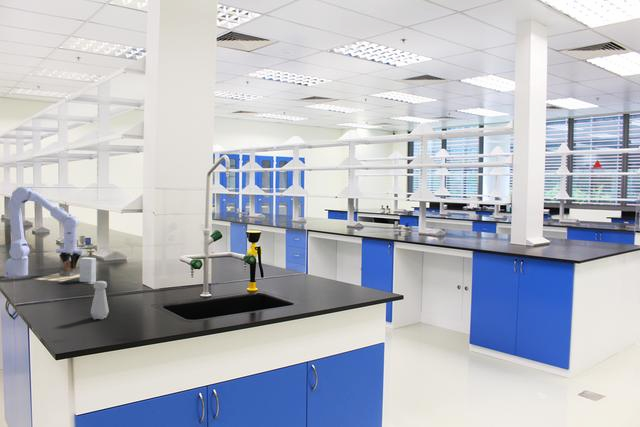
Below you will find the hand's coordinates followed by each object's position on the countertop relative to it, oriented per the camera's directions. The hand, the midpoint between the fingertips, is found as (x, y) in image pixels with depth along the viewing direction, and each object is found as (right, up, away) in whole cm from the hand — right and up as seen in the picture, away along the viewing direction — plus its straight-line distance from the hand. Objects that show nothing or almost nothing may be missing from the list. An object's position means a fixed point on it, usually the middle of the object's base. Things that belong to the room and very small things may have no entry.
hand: (69, 268), depth 250 cm
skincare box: (+15, -6, -14) cm, 22 cm away
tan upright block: (0, -3, 0) cm, 3 cm away
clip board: (-1, -5, -5) cm, 7 cm away
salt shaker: (+48, -10, -75) cm, 90 cm away
